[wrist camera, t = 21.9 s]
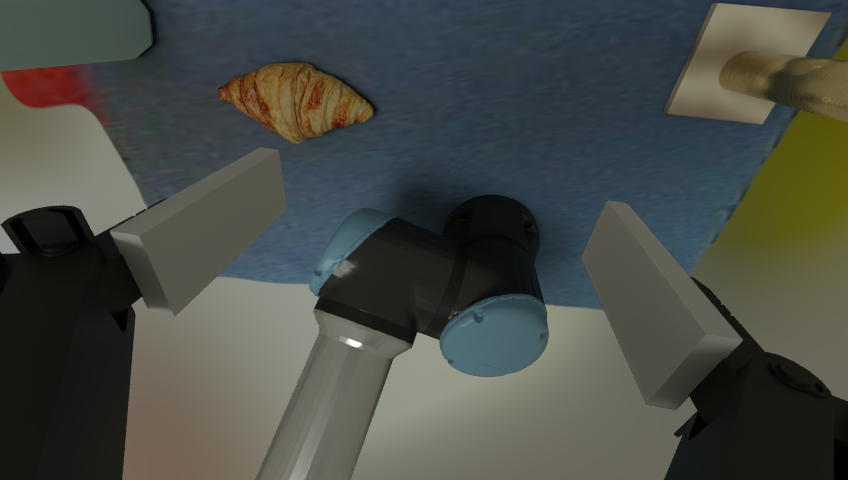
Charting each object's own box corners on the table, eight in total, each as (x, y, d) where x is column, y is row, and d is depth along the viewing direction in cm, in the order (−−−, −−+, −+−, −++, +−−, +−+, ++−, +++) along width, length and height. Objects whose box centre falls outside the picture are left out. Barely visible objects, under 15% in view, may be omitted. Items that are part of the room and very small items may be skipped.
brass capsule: (742, 95, 38) (880, 133, 25) (710, 84, 38) (833, 116, 25) (772, 57, 36) (941, 77, 23) (738, 45, 36) (889, 58, 23)
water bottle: (77, 19, 45) (-272, 12, 24) (90, -55, 40) (-334, -147, 19) (149, 75, 47) (-108, 111, 27) (169, 11, 43) (-127, -6, 22)
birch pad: (756, 122, 40) (762, 124, 40) (663, 111, 41) (666, 113, 40) (823, 13, 34) (831, 13, 34) (712, 3, 35) (717, 2, 34)
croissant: (382, 83, 47) (369, 57, 39) (374, 154, 48) (360, 143, 40) (239, 68, 48) (198, 40, 40) (234, 138, 49) (194, 124, 41)
